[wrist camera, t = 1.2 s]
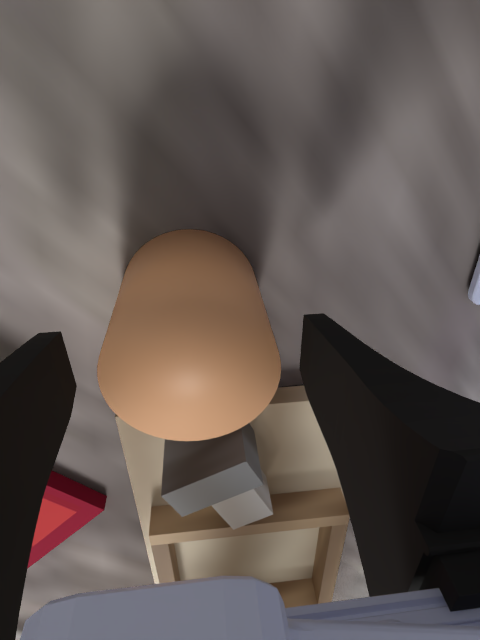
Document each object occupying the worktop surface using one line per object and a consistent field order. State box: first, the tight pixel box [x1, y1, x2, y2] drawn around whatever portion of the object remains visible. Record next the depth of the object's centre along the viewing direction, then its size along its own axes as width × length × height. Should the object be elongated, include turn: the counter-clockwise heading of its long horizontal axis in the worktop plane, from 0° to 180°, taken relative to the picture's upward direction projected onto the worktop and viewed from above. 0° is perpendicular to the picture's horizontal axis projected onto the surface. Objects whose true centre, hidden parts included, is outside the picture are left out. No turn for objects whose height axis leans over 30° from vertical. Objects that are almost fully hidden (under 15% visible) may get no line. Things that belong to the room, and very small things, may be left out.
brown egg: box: [97, 229, 281, 441], centre depth 13 cm, size 5×5×5 cm
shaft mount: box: [115, 386, 350, 608], centre depth 23 cm, size 11×22×4 cm, turn 1°
